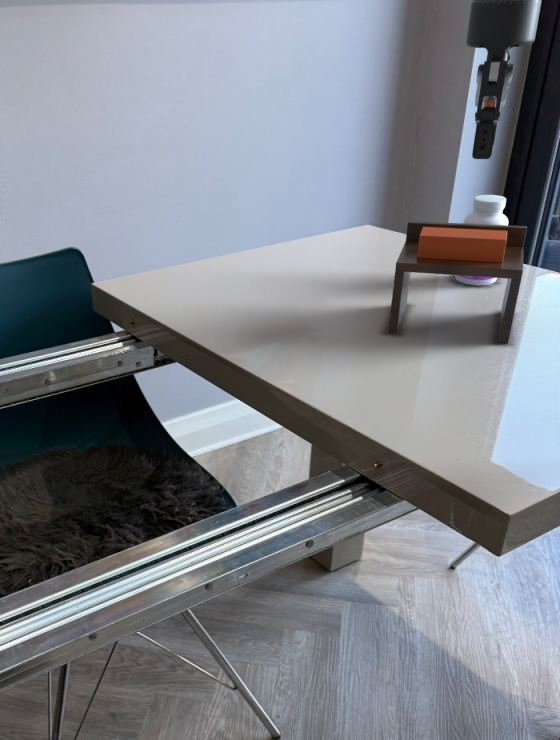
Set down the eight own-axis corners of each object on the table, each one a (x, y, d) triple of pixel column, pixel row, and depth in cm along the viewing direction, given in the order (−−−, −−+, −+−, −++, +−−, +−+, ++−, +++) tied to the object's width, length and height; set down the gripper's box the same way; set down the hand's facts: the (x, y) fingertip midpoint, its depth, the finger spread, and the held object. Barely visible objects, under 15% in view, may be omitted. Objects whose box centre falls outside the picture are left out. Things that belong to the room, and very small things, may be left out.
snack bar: (503, 253, 107) (507, 230, 105) (502, 262, 104) (506, 239, 102) (420, 248, 111) (423, 226, 109) (416, 257, 107) (419, 235, 105)
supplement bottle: (447, 282, 128) (459, 199, 121) (464, 271, 132) (478, 191, 125) (486, 289, 125) (502, 205, 117) (503, 278, 129) (519, 196, 121)
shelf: (509, 313, 116) (527, 226, 109) (507, 343, 106) (527, 250, 99) (398, 304, 121) (408, 220, 114) (387, 333, 111) (398, 243, 104)
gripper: (543, -3, 82) (514, 163, 91) (541, -6, 93) (515, 143, 102) (468, 0, 85) (446, 162, 93) (475, -3, 96) (455, 143, 104)
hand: (482, 152), depth 98 cm, fingers open, 8 cm apart
